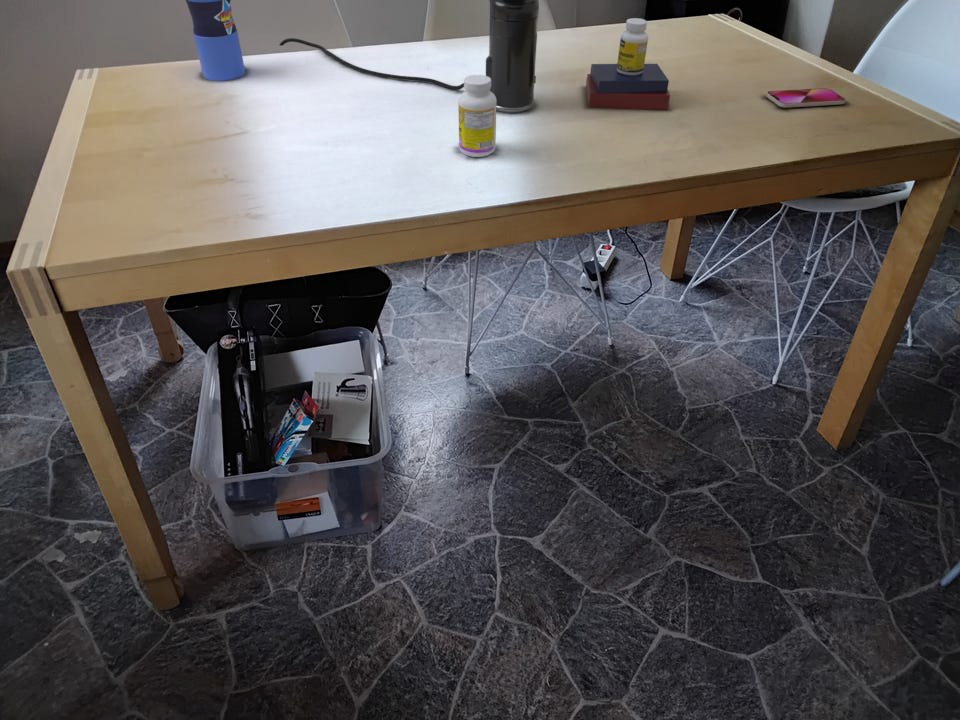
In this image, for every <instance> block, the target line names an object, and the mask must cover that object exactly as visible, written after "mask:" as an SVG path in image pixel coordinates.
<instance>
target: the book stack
mask: <svg viewBox="0 0 960 720" xmlns="http://www.w3.org/2000/svg"><path fill="white" fill-rule="evenodd" d="M669 82H670V80H669V78H668V77H667V75H666V74H665V73H664V70H662V68H661V67H660V66H659V64H658V63H644V69H643V72H642V73H641V74H639V75H635V76H629V75H624V74H621V73H619V72H618V71H617V63H591V66H590V73H587V74H586V83H585V84H586V85H585V92H586V98H587V105H588V108H593V109H594V108H595V109H596V108H597V109H600V108H601V109H624V110H625V109H627V110H628V109H629V110H654V111H655V110H656V111H657V110H658V111H660V110H661V111H668V109H669V105H670V98H671V93H670V92H669V84H670V83H669Z"/></svg>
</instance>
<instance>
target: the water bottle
mask: <svg viewBox="0 0 960 720" xmlns="http://www.w3.org/2000/svg"><path fill="white" fill-rule="evenodd" d="M185 2H186V6H187V8H188V11H189V14H190V17H191V22H192V23H191V24H192V31H193V33H192V34H193V38H194V42H195V48H196V51H197V56H198V59H199V63H200V68H201V73H202V76H203V78H204V79H206V80H209V81H215V82H216V81H217V82H221V81H222V82H223V81H224V82H225V81H231V80H235V79H238V78H241V77H243V76H244V75H245V74H246V69H245V62H244V57H243V53H242V47H241V43H240V38H239V37H240V36H239V33H238V28H237V26H236V23H235V21H234V17H233V11H232V1H231V0H185Z"/></svg>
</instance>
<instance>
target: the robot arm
mask: <svg viewBox="0 0 960 720" xmlns="http://www.w3.org/2000/svg"><path fill="white" fill-rule="evenodd" d="M488 2H489V38H488V39H489V40H488V41H489V42H488V43H489V44H488V56H487V57H486V58H485V76H488V77H490V78H491V88H490V92H492V93H493V94H494V95H495V97H496V100H497V101H496V112H501V113H514V114H515V113H523V112H526V111H529V110H531V109H532V108H533V107H534V105H535V103H534V102H535V99H534V98H535V84H536V83H537V82H536V81H537V80H536V79H537V76H536V63H537V61H536V60H537V44H538V27H539V11H540V0H488ZM287 43H299V44H302V45H305V46H309V47H311V48H316V49H319V50H320V51H322V52H323V53H325V54H326V55H327V56H329V57H331V58H332V59H334V60H335V61H337V62H338V63H340V64H342V65H344V66H346V67H348V68H351V69H353V70H355V71H358V72H361V73H364V74H368V75H372V76H376V77H382V78H388V79H394V80H403V81H416V82H424V83H430V84H434V85H437V86H440V87H443V88H445V89H448V90H453V91H459V90H461V89H463V88H465V87H464V82H462V83H461V84H459V85H452V84H451V85H450V84H448V83H445V82H443V81H440V80H437V79H434V78H428V77H422V76H420V77H419V76H409V75H400V74H399V75H398V74H393V73H392V74H390V73H385V72H379V71H374V70H371V69H367V68H362V67H361V66H360V67H359V66H358V65H355V64H353V63H349V61H346V60H344V59H342V58H340V57H339V56H337V55H336V54H334V53H332V52H331V51H329V50H328V49H326V48H325V47H324V46H322V45H319V44H316V43H313V42H310V41H307V40H303V39H300V38H293V37H291V38H286V39H283V40H282V41H281V42H280V43H279V45H278V46H284V45H285V44H287Z"/></svg>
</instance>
